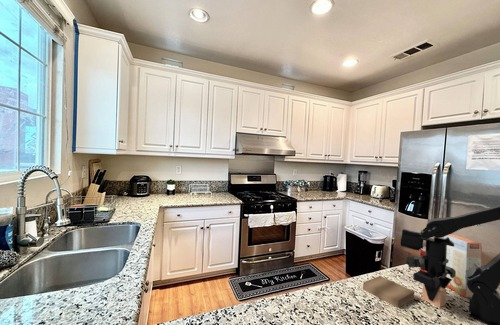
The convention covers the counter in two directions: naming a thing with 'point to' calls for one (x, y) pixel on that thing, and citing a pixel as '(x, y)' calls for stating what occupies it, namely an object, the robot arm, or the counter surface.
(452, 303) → the counter surface
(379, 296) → the base slab
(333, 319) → the counter surface
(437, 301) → the cube
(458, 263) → the cracker box
